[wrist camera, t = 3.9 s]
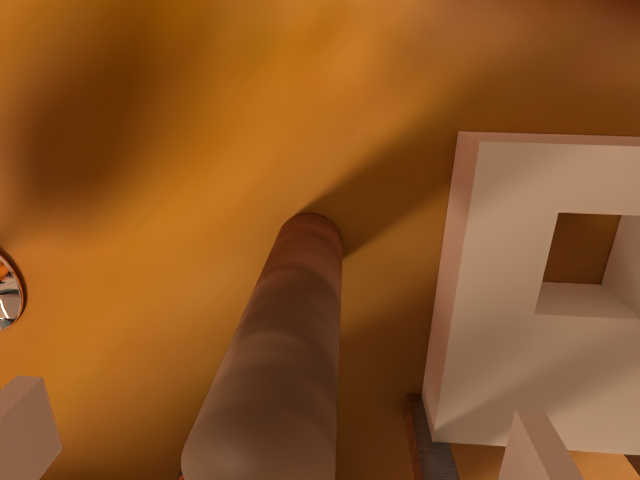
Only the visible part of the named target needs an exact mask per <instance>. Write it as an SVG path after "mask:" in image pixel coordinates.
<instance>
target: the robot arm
mask: <svg viewBox="0 0 640 480" xmlns="http://www.w3.org/2000/svg"><path fill="white" fill-rule="evenodd" d="M62 450H63V449H62V445H61V442H60V438H59V434H58V431H57V427H56V424H55V420H54V416H53V413H52V409H51V406H50V402H49V398H48V395H47V391H46V388H45V384H44V380H43V377H31V376H16V377H15V378H14V379H13V380H11V381H10V382H9V383H8V384H7V385H6V386H5V387H4V388H3V389H1V390H0V480H39V479H40V478H41V477H42V476H43V474H44V473H45V472H46V470H47V469H48V468H49V466H50V465H51V464H52V463H53V461H54V460H55V459H56V457H57V456H58V455H59V453H60V452H61V451H62ZM498 480H584V478H583V476H582V475H581V473H580V471H579V470H578V468H577V466H576V464H575V463H574V461H573V459H572V457H571V456H570V454H569V452H568V450H567V449H566V447H565V445H564V443H563V442H562V440H561V438H560V436H559V435H558V433H557V431H556V430H555V428H554V426H553V424H552V423H551V421H550V419H549V417H548V416H547V414H546V412H545V411H533V410H518V409H515V413H514V417H513V421H512V425H511V429H510V433H509V437H508V441H507V445H506V449H505V453H504V457H503V461H502V465H501V469H500V473H499V477H498Z"/></svg>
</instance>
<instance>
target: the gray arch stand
mask: <svg viewBox="0 0 640 480" xmlns="http://www.w3.org/2000/svg"><path fill="white" fill-rule="evenodd" d="M404 417H405V423H406V429H407V435H408V441H409V447H410V453H411V459H412V465H413V470H414V476H415V480H459V477H458V473H457V470H456V466H455V462H454V459H453V455H452V452H451V448H450V444H449V443H447V442H432V438H431V433H430V429H429V425H428V421H427V416H426V412H425V408H424V404H423V399H422V395H409V394H407V400H406V408H405V416H404ZM624 455H625V457H626V458H627V459H628V461H629V462H630V463H631V465H632V466H633V468H634V469H635V470H636V472H637V473H638V474H639V476H640V455H628V454H624Z"/></svg>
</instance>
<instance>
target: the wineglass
mask: <svg viewBox="0 0 640 480" xmlns="http://www.w3.org/2000/svg"><path fill="white" fill-rule="evenodd" d="M23 301H24V297H23V289H22V286H21V283H20V280H19V278H18V276H17V274H16V273H15V271H14V269H13V268H12V267H11V265H10V264H9V263H8V261H7V260H6V259H5V258H4V257H3V256H2V255H1V254H0V331H3V330H5V329H7V328H9V327H10V326H11V325H13V324H14V323H15V322H16V320H17V319H18V318H19V316H20V314H21V311H22V309H23Z"/></svg>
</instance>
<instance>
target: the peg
mask: <svg viewBox="0 0 640 480" xmlns="http://www.w3.org/2000/svg"><path fill="white" fill-rule="evenodd" d="M341 275H342V237H341V234H340V232H339V230H338V228H337V227H336V226H335V224H334V223H333V222H332V221H330V220H329V219H328V218H326V217H324V216H322V215H319V214H314V213H304V214H299V215H296V216H294V217H292V218H291V219H289V220H288V221H287V222H286V223H285V224H284V225H283V226H282V228H281V230H280V232H279V234H278V236H277V239H276V241H275V243H274V245H273V248H272V250H271V252H270V254H269V257H268V259H267V261H266V263H265V266H264V268H263V270H262V272H261V275H260V277H259V279H258V281H257V284H256V286H255V288H254V290H253V293H252V295H251V297H250V299H249V302H248V304H247V306H246V308H245V311H244V313H243V315H242V317H241V320H240V322H239V324H238V326H237V329H236V331H235V333H234V335H233V338H232V340H231V342H230V344H229V347H228V349H227V351H226V353H225V356H224V358H223V360H222V362H221V364H220V367H219V369H218V371H217V373H216V376H215V378H214V380H213V382H212V385H211V387H210V389H209V391H208V394H207V396H206V398H205V400H204V403H203V405H202V407H201V409H200V412H199V414H198V416H197V418H196V421H195V423H194V425H193V427H192V430H191V432H190V434H189V436H188V439H187V441H186V443H185V445H184V448H183V451H182V456H181V470H182V474H183V477H184V480H335V469H336V436H337V404H338V372H339V340H340V307H341Z"/></svg>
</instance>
